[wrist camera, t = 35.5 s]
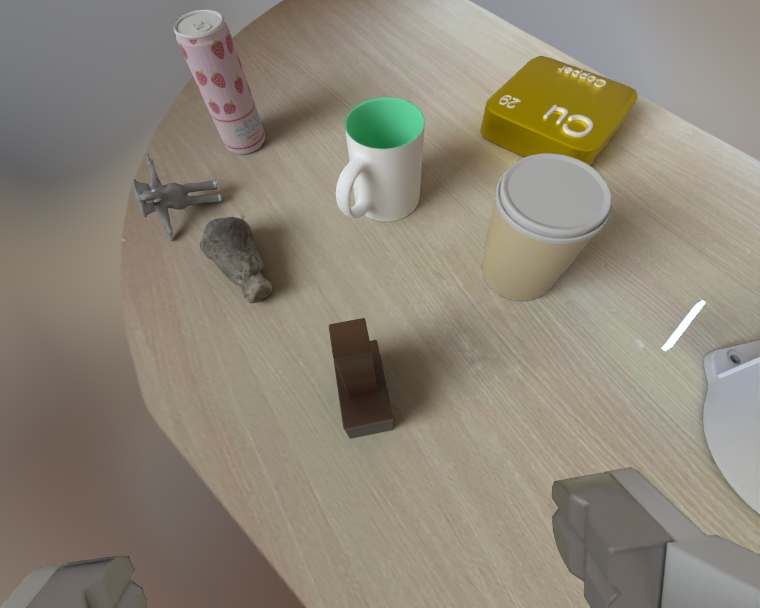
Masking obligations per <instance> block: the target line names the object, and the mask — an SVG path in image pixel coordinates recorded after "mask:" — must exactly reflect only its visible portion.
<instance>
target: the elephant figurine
mask: <svg viewBox="0 0 760 608" xmlns="http://www.w3.org/2000/svg"><path fill="white" fill-rule="evenodd" d="M146 156H147V164H148V167H149V168H150V171H151V176H150V184H151V186H150V187H149V186H148V184H146V183H140V182H137V181H136V180H133V187H134V190H135V197H136V201H137V203H138V205H139V206H140V211H141V214H142V215H143V216H144V217H147V215H148V214H150V213H152V212H154V211H157V212H158V214H159V216H160V218H161V220H162V221H163V223H164V224H165V226H166V228H167V233H168V236H169V237H170V240H171V241H173V238H172V233H173V231H172V227H171V225H170V219H169V213H168V208H173V209H184V208H186V207H187V206H189V205H197V204H203V203H217V202H221V200H222V199H221V196H220V194H213V195H203V196H188V195H187V194H188V193H189V192H196V191H204V190H213V189H217V183H216V181H208V182H203V183H189V184H184V185H180V184H177V183H169V184H167V185H165V186H164V185H162V184H161V183H160V180H159V178H158V176H157V174H156V172H155V169H154V164H153V160H152V159H151V160H150V158H149V154H146Z"/></svg>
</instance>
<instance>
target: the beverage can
mask: <svg viewBox="0 0 760 608" xmlns="http://www.w3.org/2000/svg"><path fill="white" fill-rule="evenodd" d="M174 32H175V33H176V39H177V41H178V43H179V46H180V48H181V50H182V52H183V54H184V57H185V59H186V61H187V63H188V65H189V68H190V70H191V72H192V74H193V77H194V79H195V81H196V83H197V85H198V88H199V90H200V92H201V94H202V96H203V99H204V101H205V103H206V105H207V107H208V110H209V112H210V114H211V116H212V118H213V121H214V123H215V125H216V127H217V129H218V132H219V134H220V136H221V138H222V140H223V143H224V145H225V147H226V148H227V149H228V150H229V151H231V152H234V153H237V154H248V153H251V152H254V151H256V150H257V149H259V148H260V147H261V146H262V144H263V143H264V141H265V132H264V130H263V127H262V124H261V121H260V118H259V115H258V112H257V109H256V106H255V104H254V101H253V98H252V95H251V92H250V89H249V86H248V83H247V80H246V77H245V75H244V72H243V69H242V66H241V63H240V60H239V57H238V54H237V51H236V49H235V46H234V43H233V40H232V37H231V34H230V31H229V28H228V26H227V24H226V23H225V22H224V18H223V17H222V16H221V15H220V14H219V13H218V12H216V11H212V10H198V11H193V12H190V13H188V14H185V15H183V16H181V17H180V18H179V19H178V20H177V21H176V22H175V24H174Z"/></svg>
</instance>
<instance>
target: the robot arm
mask: <svg viewBox="0 0 760 608" xmlns="http://www.w3.org/2000/svg"><path fill="white" fill-rule="evenodd" d="M705 303H706V302H704V301H701V302H699V303H698V304H696V305H695V306H694V307H693V309H692V310H691V311H690V313H689V314H688V315H687V316H686V318H685V319H684V320H683V322H682V323H681V324H680V326H679V327H678V328H677V329H676V331H675V332H674V333H673V335H672V336H671V337H670V338H669V340H668V341H667V342H666V344H665V345H664V346H663V348H662V349H663V350H664V351H666V350H668V349H669V348H671V347H672V346H673V345H674V343H675V342H676V341H677V339H678V338H679V337H680V335H681V334H682V333H683V332H684V330H685V329H686V328H687V326H688V325H689V324H690V322H691V321H692V320H693V318H694V317H695V316H696V314H697V313H698V312H699V311H700V309H701V308H702V307H703V305H704V304H705ZM731 359H733V360H734V362H735V363H734V362H733V361H732V360H731ZM704 369H705V373H706V378H707V382H708V391H707V395H706V399H705V403H704V408H703V427H704V433H705V437H706V441H707V444H708V447H709V449H710V452H711V454H712V456H713V458H714V461H715V462H716V464H717V466H718V468H719V469H720V471H721V473H722V474H723V476H724V477H725V479H726V480H727V481H728V483H729V484H730V485H731V487H732V488H733V489H734V490H735V491H736V493H737V494H738V495H739V496H740V497H741V498H742V499H743V500H744V501H745V502H746V503H747V504H748V505H749V506H750V507H751V508H752V509H753V510H755V511H756V512H757V513H758V514H759V515H760V340H757V341H753V342H748V343H744V344H740V345H735V346H731V347H727V348H722V349H718V350H715V351H712V352H710V353H708V354H706V355H705V357H704ZM552 499H553V500H554V502H555V503H556V505H557V506H558V509H557V511H556V512H555V513H554V515H553V516H552V523H553V533H554V537H555V541H556V544H557V548H558V550H559V552H560V554H561V557H562V559H563V561H564V563H565V564H566V566H567V568H568V570H569V571H570V573H572V574H573V575H575V576H576V577H578V578H579V579H581V580H582V581H584V597H585V599H586V600H587V602H588V604H589V605H590V607H591V608H760V554H757V553H755V552H753V551H751V550H749V549H746V548H744V547H742V546H740V545H738V544H735V543H733V542H731V541H729V540H727V539H724V538H722V537H720V536H718V535H709V536H707V535H706V534H705V533H704V532H702V531H701V530H700V529H699V528H698V527H697V526H696V525H695V524H694V523H693V522H692V521H691V520H690V519H689V518H688V517H687V516H685V515H684V514H683V513H682V512H681V511H680V510H679V509H678V508H677V507H676V506H675V505H674V504H673V503H672V502H671V501H670V500H668V499H667V498H666V497H665V496H664V495H663V494H662V493H661V492H660V491H659V490H658V489H657V488H656V487H655V486H654V485H653V484H651V483H650V482H649V481H648V480H647V479H646V478H645V477H644V476H643V475H642V474H641V473H640V472H639V471H637V470H636V469H633V468H631V467H629V468H623V469H618V470H612V471H607V472H604V473H597V474H591V475H586V476H580V477H575V478H569V479H564V480H558V481H554V484H553V486H552ZM134 571H135V568H134V566H133V564H132V562H131V559H130V557H129V556H122V555H119V556H112V557H105V558H99V559H91V560H84V561H78V562H70V563H67V564H61V565H54V566H46V567H40V568H38V569H36V570H35V571H33V572H31V573H30V574H28V575H27V576H26V577H25V579H24V580H23V581H22V582H21V583H20V585H19V586H18V587H17V588H16V589H15V591H14V592H13V593H12V594H11V595H10V596H9V597H8V599H7V600H6V601H5V602H4V603H3V605H2V606H1V607H0V608H147V599H146V596H145V593H144V590H143V588H142V587H141V586H139V585H137V584H136V583H134V582H133V581H131V578H132V576H133V573H134Z"/></svg>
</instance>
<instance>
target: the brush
mask: <svg viewBox="0 0 760 608" xmlns="http://www.w3.org/2000/svg"><path fill="white" fill-rule="evenodd" d="M329 332H330V339H331V346H332V353H333V358H334V365H335V372H336V379H337V386H338V393H339V400H340V407H341V414H342V421H343V428H344V429H345V431H346V433H347V435H348V436H349V438H355V437H360V436H365V435H370V434H375V433H380V432H384V431H389V430H393V416H392V411H391V406H390V401H389V397H388V392H387V387H386V382H385V377H384V372H383V367H382V362H381V358H380V353H379V348H378V343H377V340H372V341H369V336H368V331H367V326H366V321H365V318H362V319H357V320H351V321H346V322H341V323H335V324H330V325H329Z"/></svg>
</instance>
